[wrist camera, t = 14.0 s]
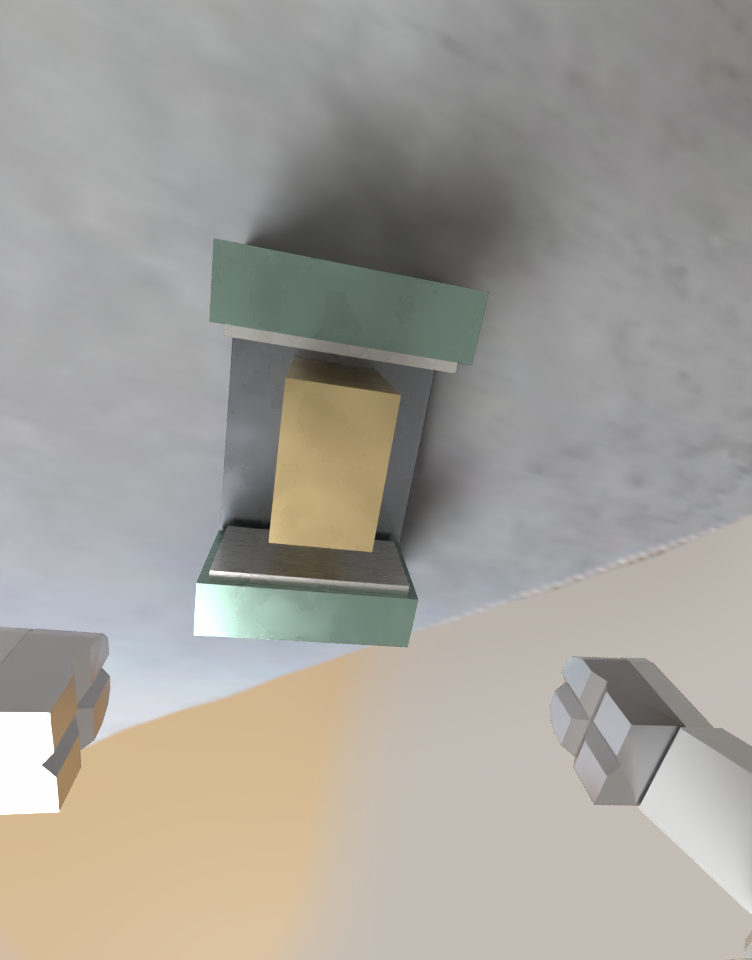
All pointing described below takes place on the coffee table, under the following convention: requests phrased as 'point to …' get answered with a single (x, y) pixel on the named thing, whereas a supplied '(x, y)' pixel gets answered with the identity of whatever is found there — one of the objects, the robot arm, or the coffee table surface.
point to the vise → (328, 358)
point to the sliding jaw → (304, 592)
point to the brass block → (332, 455)
